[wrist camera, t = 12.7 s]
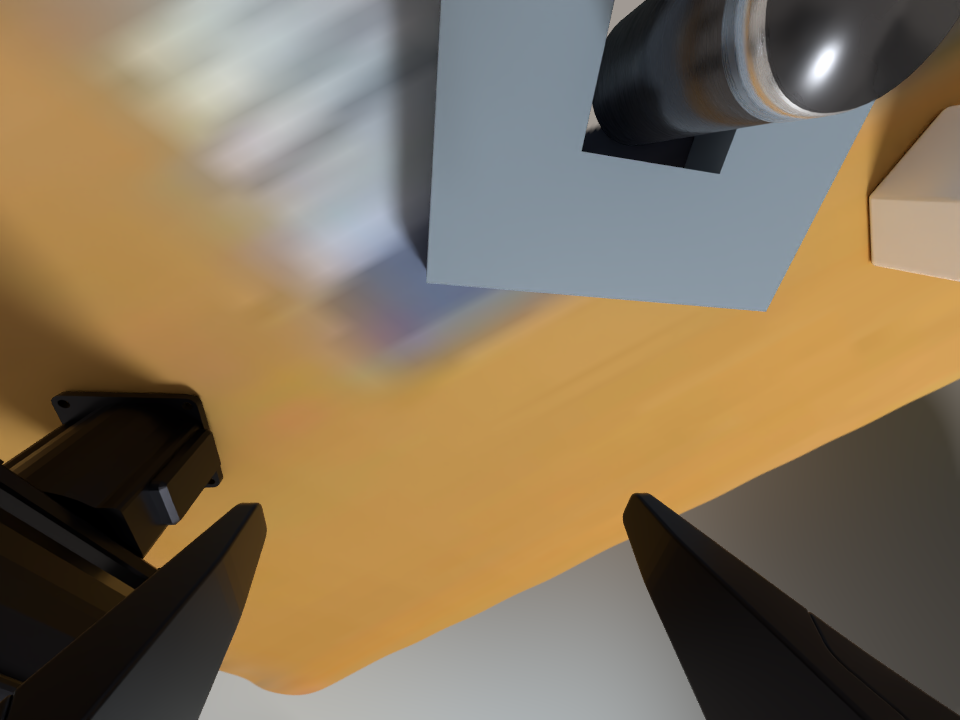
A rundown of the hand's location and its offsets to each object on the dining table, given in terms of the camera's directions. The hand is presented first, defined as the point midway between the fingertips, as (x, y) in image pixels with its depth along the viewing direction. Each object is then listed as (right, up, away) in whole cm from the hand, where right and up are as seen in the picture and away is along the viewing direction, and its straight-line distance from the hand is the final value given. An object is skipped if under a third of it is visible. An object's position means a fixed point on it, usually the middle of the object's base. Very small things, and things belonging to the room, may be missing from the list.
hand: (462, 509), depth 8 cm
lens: (+8, +16, +7) cm, 19 cm away
